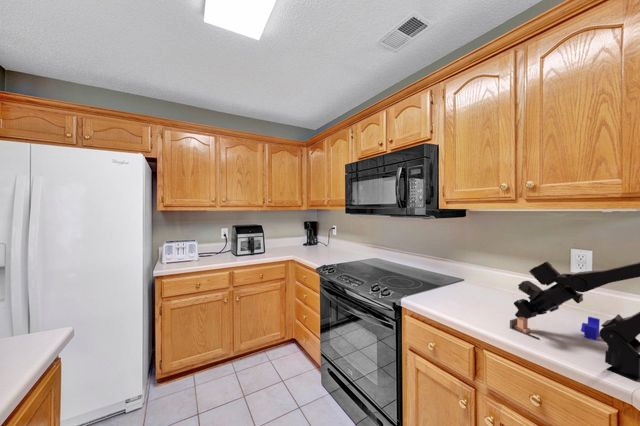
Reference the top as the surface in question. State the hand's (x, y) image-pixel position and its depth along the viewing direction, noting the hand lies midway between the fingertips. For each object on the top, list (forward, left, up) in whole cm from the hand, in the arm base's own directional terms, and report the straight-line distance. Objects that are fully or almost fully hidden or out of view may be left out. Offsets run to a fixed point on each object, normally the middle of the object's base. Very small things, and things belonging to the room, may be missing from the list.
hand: (518, 315), depth 101 cm
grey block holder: (-4, +1, -7) cm, 7 cm away
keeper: (-2, 0, -5) cm, 6 cm away
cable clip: (-13, -21, -7) cm, 26 cm away
